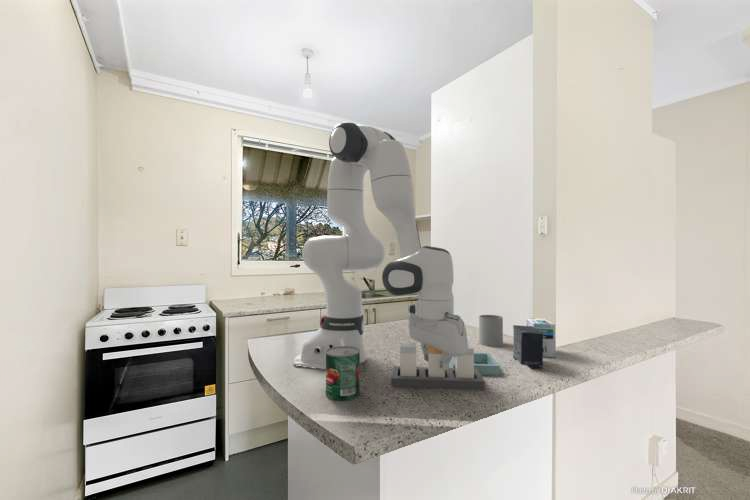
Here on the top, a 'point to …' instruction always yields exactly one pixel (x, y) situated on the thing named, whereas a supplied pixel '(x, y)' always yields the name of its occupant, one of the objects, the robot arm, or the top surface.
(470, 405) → the top surface
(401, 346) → the block
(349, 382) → the canned tomato
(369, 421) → the top surface
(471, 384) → the block
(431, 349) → the block
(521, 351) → the small box
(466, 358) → the block
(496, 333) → the cup
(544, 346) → the light bulb box
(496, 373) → the tray
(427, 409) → the top surface
